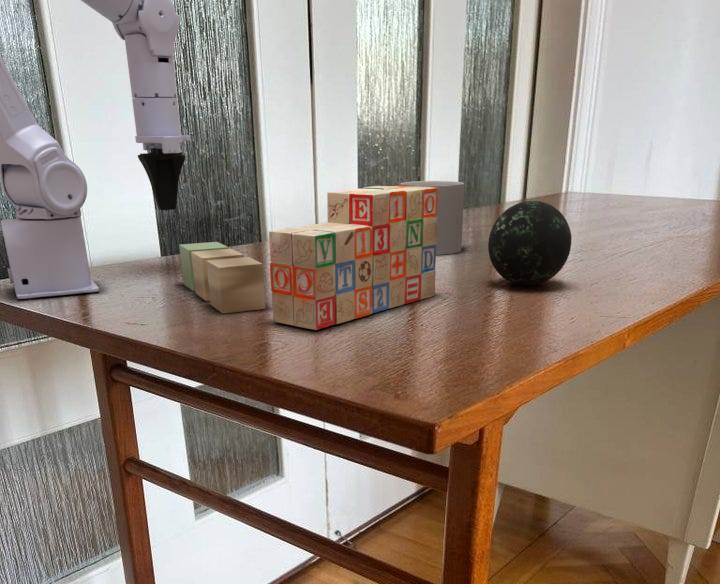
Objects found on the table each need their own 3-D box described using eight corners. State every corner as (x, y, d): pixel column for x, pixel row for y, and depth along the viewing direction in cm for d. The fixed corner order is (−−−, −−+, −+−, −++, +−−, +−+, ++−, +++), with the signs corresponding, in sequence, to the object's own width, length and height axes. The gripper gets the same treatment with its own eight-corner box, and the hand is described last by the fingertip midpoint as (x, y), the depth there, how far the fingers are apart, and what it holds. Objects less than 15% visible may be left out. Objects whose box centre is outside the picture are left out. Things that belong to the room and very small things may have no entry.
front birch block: (222, 313, 83) (218, 267, 81) (210, 304, 87) (206, 260, 85) (265, 309, 85) (262, 263, 83) (251, 300, 89) (248, 256, 87)
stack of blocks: (317, 332, 75) (312, 201, 70) (272, 323, 79) (264, 198, 73) (435, 295, 90) (439, 185, 85) (393, 289, 94) (394, 183, 88)
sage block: (192, 291, 94) (188, 250, 92) (183, 284, 98) (179, 244, 96) (231, 287, 96) (228, 246, 94) (220, 280, 100) (217, 241, 98)
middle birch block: (206, 301, 89) (201, 257, 86) (195, 293, 93) (191, 251, 90) (246, 297, 90) (243, 254, 88) (234, 289, 95) (231, 248, 92)
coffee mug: (442, 257, 115) (445, 186, 110) (387, 251, 120) (387, 184, 115) (481, 245, 125) (484, 180, 120) (428, 241, 130) (430, 178, 125)
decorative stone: (518, 296, 89) (525, 207, 85) (470, 282, 97) (474, 199, 93) (583, 288, 93) (594, 202, 89) (532, 274, 101) (539, 195, 97)
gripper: (199, 96, 93) (209, 212, 99) (173, 99, 105) (184, 203, 111) (140, 96, 90) (155, 215, 96) (121, 99, 102) (135, 205, 108)
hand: (167, 209), depth 103 cm, fingers closed
